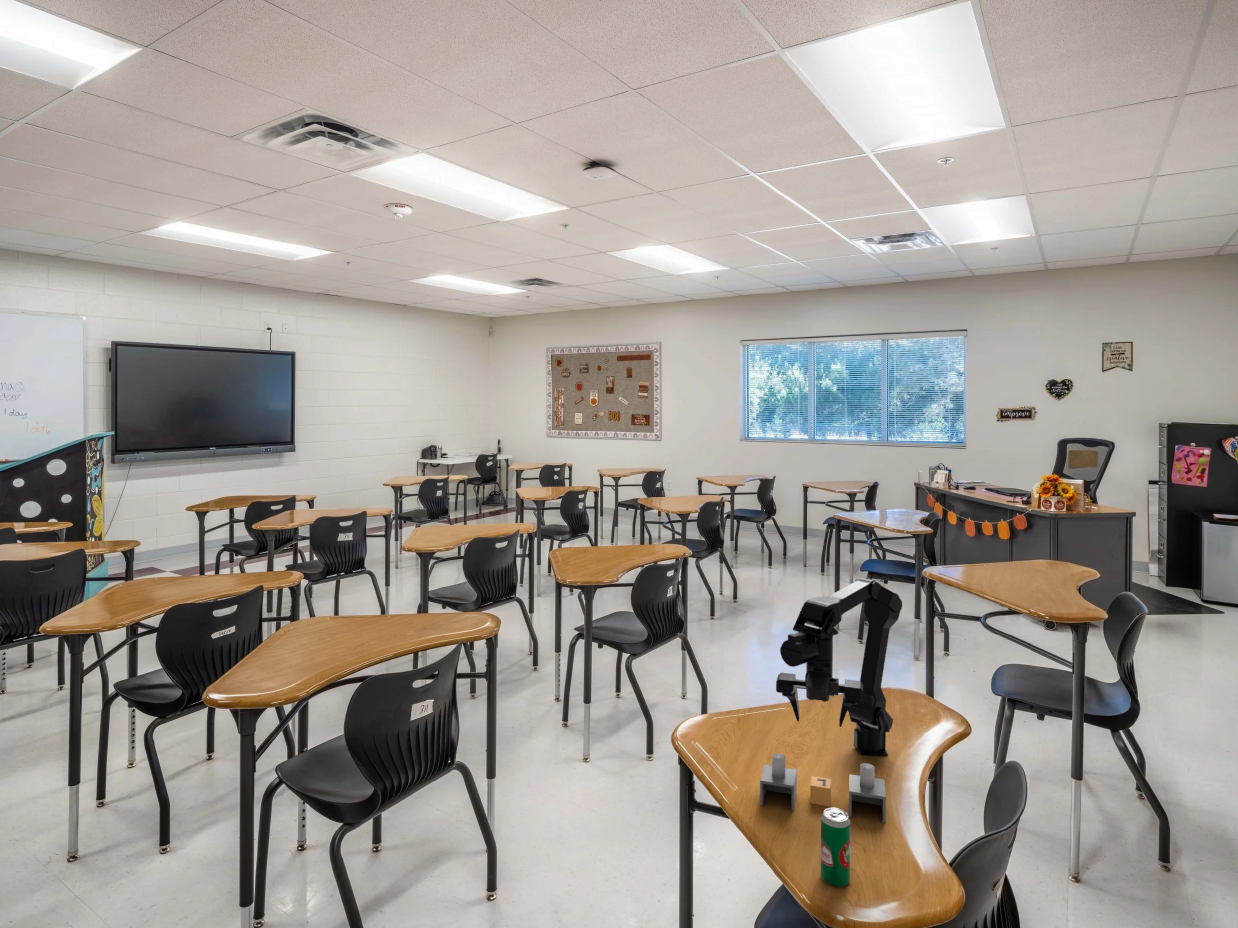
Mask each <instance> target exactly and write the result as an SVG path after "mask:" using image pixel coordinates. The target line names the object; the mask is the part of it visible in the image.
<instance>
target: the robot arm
mask: <svg viewBox="0 0 1238 928" xmlns="http://www.w3.org/2000/svg"><path fill="white" fill-rule="evenodd" d="M860 604H863V615H864V616H865V619H866V621H867V624H868V627H867V633H866V640H865V646H864V651H863V658H862V665H861V672H860V678H859V680H855V679H854V680H853V679H844V684H843V683H842V684H841V683H839V678H837V677H836V678H835V677H833V670H834V669H833V667H834V665H833V664H834V663H833V662H834V660H833V659H834V658H833V657H834V656H833V655H834V654H833V652H834V651H833V649H834V646H833V645H834V636H837V635H838V634H839V631H838V630H837V629H836V628H835V627H836V626H837V625H839V624H840V622H842V618H843V615H844V614H845V613H848V612H849V611H851V610H852V609H854V608H855V607H857V606H859V605H860ZM902 609H903V601H902V599H901V597H900V595H899V594H898V593H897V592H893V591H891V590H890V589H888V588H886V587H884V586H883V585H881V584H880V583H879V582H878V581H876V580H874V579H868V578H864V577H859V578H856V579H855V580H854V582H853V583H850V584H849V585H847V586H845V587H844V588H841V589H840V590H837V591H836V592H834V593H831V595H828V596H817V597H812V598H809V599H807V600H806V601H804V603H803V605H802V607H801V609H800V611H799V614H798V616H797V618H796V620H795V623H794V625H793V628H792V631H794V632H795V633H789V634H787V640H784V641H783V642H782V643H781V646H780V649H779V652H780V656H781V659H782V660H783V662H784V663H785V664H786V665H787V666H789V667H791V668H792V667H793V668H795V667H799V666H801V665H803V664H805V665H806V666H805V667H806V670H805V671H806V672H805V676H804V677H805V679H799V678H798V679H796V677H797V676H796V673H790V672H789V673H788V672H780V673H778V675H777V678H776V682H775V692H776V693H780V694H781V695H782V697H785V698H787V699H788V701H789V702H790V704H791V707H792V711H793V712H794V713H793V714H794V716H795V719H796V722H800V703H799V694H798V693H799V692H798V689H801V690H805V691H806V692H805V693H806V696H805V697H806V699H807V700H809V701H815V700H816V701H821V702H828V701H829V700H830V697H835V696H839V694H842V698H841V699H842V700H841V705H840V712H839V721H838V722H839V723H838V725H839V728H842V726H843V723H844V720H845V717H846V715H847V713H848V716H849V720H850V722H852V723H855V724H856V726H855V728H854V729H853V744H854V746H855V748H856V749H857V750H858V752H859V754H861V755H862V756H889V752H888V750H887V748H886V747H887V745H886V744H887V743H886V741H887V733H889V732H890V731H891V729H892V728H893V721H894V718H892V716H891V715H890V714H889V712H888V711H887V710H886V705H887V700H886V696H885V695H884V692H883V690H882V682H883V675H884V669H885V662H886V656H887V649H888V644H889V638H890V636H889V634H890V630H891V628H892V627H893V626H894V624H895V623H897V621H899V617H900V614H901V610H902ZM806 624H807V625H806Z"/></svg>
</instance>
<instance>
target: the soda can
mask: <svg viewBox="0 0 1238 928" xmlns="http://www.w3.org/2000/svg"><path fill="white" fill-rule="evenodd" d="M851 823H852V821H851V819H850V817H849V813H847V812H846V811H845V810H843V809H841V808H838V807H827V808H825V809H824V810H823V811H822V815H821V816H820V877H821V878H822V880H823V881H824V882H825V884H826V885H827V884H828V886H831V887H834V888H843V887H845V886H846V885H848V884H849V883H850V881H851V856H852V855H851V843H852V841H851V837H852V835H851V834H852V831H851V830H852V825H851Z"/></svg>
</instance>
